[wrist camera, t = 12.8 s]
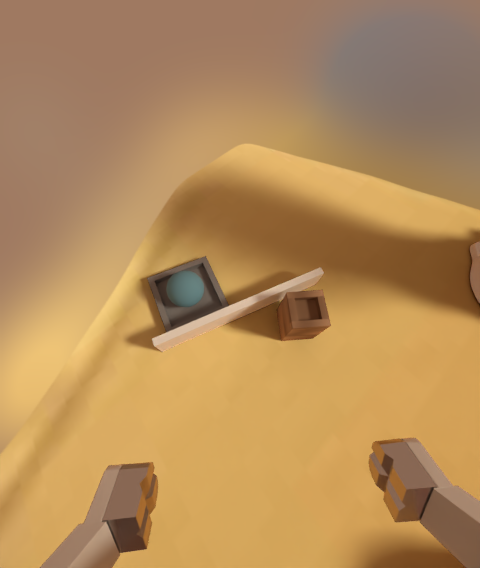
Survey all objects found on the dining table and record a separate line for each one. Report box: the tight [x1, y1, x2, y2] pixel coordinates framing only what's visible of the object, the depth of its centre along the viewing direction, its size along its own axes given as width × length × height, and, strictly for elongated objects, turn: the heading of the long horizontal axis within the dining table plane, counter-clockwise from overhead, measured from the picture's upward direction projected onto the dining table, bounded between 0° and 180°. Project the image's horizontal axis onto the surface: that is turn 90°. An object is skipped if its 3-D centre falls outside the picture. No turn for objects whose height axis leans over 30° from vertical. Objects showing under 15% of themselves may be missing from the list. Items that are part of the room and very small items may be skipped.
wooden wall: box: [152, 267, 324, 352], centre depth 35 cm, size 24×1×4 cm, turn 115°
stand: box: [277, 290, 331, 341], centre depth 33 cm, size 4×4×7 cm
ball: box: [166, 270, 204, 307], centre depth 35 cm, size 5×5×5 cm
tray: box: [147, 256, 229, 332], centre depth 37 cm, size 9×9×1 cm
